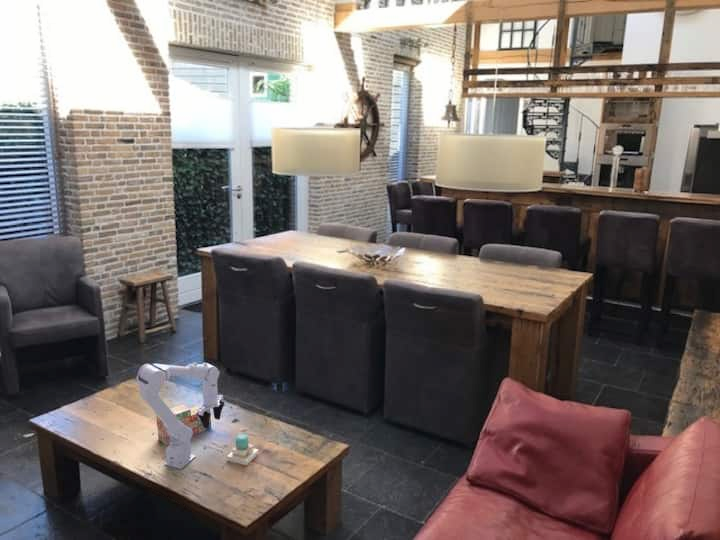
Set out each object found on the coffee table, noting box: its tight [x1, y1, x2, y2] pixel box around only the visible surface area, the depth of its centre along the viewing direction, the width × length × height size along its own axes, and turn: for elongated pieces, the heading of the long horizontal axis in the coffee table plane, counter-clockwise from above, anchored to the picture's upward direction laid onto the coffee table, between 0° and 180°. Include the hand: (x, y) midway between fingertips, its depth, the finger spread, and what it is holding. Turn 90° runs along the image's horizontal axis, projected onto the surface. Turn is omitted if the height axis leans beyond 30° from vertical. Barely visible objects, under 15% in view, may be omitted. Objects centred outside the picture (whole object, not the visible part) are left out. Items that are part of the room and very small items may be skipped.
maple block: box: [231, 443, 254, 458], centre depth 237 cm, size 6×6×2 cm
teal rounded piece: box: [234, 434, 250, 450], centre depth 237 cm, size 5×5×4 cm
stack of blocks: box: [155, 404, 212, 446], centre depth 253 cm, size 21×6×12 cm, turn 132°
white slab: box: [226, 448, 260, 466], centre depth 238 cm, size 9×9×2 cm
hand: (211, 423), depth 244 cm, fingers open, 7 cm apart
